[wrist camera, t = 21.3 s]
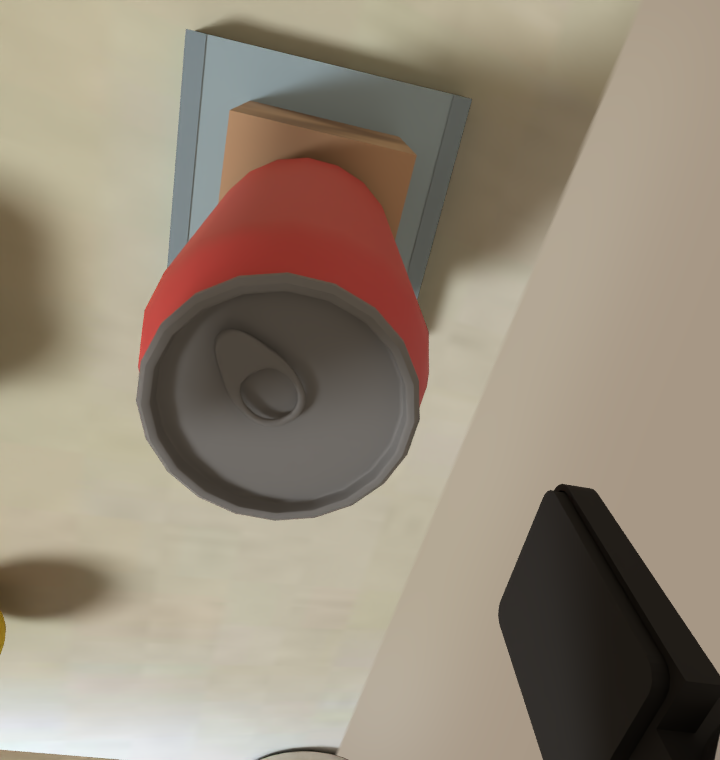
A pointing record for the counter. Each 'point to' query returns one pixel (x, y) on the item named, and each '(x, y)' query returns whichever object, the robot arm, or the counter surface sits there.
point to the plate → (317, 98)
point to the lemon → (2, 631)
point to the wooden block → (318, 151)
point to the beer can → (285, 348)
